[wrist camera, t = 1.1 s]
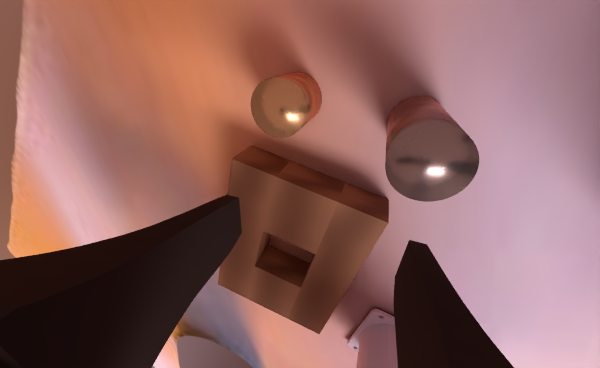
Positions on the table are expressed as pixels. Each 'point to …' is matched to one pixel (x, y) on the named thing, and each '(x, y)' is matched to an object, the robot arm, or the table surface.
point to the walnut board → (298, 236)
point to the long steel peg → (428, 151)
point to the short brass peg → (285, 103)
